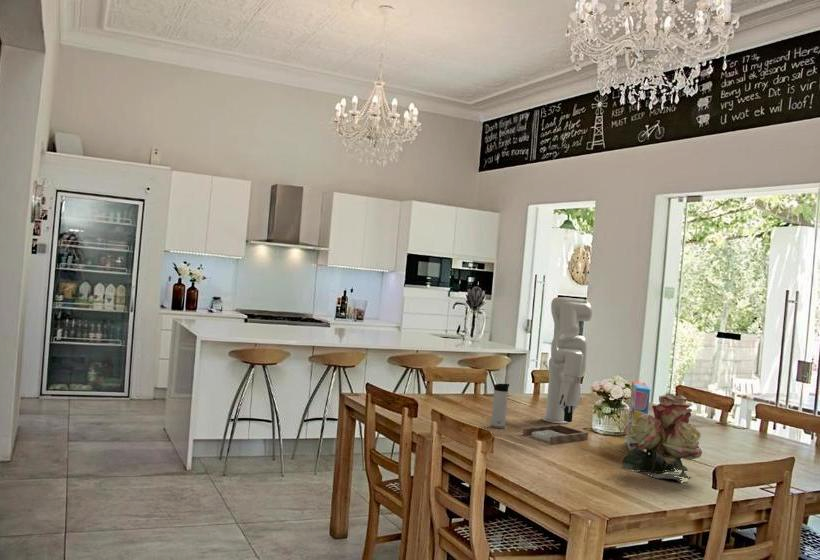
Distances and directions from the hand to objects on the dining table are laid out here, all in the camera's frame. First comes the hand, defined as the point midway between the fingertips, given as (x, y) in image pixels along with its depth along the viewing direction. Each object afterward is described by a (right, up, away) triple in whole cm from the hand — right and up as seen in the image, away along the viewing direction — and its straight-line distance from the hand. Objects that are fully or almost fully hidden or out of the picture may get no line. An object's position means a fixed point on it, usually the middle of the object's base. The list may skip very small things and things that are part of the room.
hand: (567, 421), depth 325 cm
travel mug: (-29, -5, +9) cm, 31 cm away
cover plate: (-9, -6, -7) cm, 13 cm away
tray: (-7, -7, -5) cm, 11 cm away
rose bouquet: (+26, -11, -45) cm, 54 cm away
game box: (+27, -10, -8) cm, 30 cm away
